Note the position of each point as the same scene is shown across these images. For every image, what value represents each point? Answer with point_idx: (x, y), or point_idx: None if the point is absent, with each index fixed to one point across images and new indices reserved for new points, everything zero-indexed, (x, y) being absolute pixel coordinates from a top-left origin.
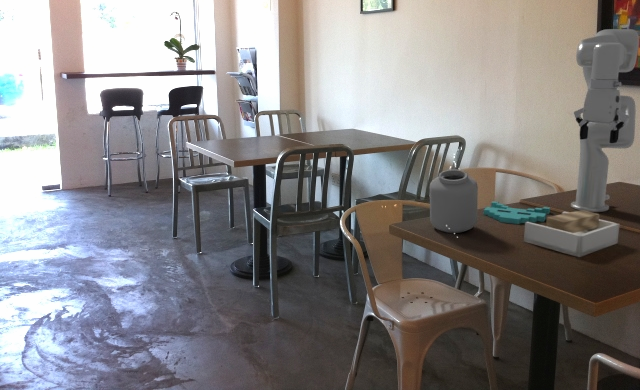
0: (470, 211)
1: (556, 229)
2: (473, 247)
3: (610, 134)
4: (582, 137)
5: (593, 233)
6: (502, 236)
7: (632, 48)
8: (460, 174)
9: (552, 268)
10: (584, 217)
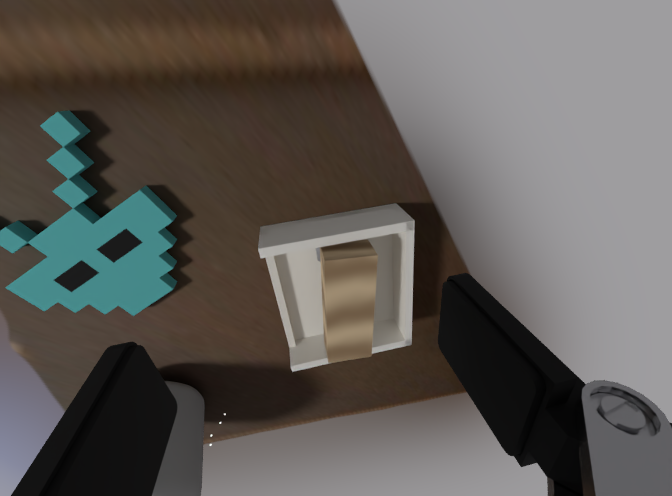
0: (201, 436)
1: None
2: (276, 409)
3: (483, 411)
4: (173, 422)
5: (411, 311)
6: (246, 353)
7: None
8: None
9: (400, 370)
10: (374, 303)
